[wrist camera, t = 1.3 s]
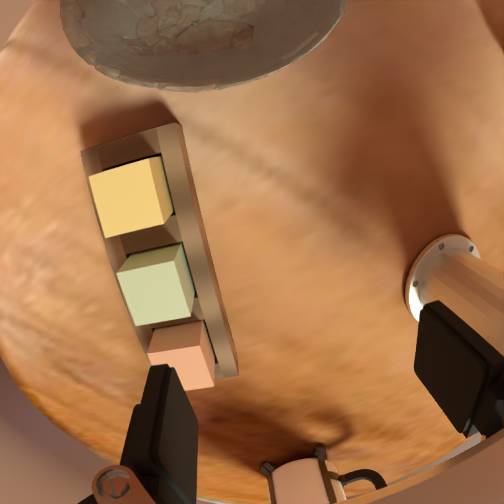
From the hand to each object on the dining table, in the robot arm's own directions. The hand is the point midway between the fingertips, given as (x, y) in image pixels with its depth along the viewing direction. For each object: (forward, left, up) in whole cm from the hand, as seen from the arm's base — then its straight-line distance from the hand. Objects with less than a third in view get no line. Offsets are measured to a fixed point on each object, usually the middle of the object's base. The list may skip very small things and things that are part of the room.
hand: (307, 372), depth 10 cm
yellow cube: (+8, +7, -20) cm, 23 cm away
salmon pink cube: (-8, +12, -20) cm, 25 cm away
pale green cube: (0, +10, -20) cm, 22 cm away
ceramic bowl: (+22, -6, -24) cm, 33 cm away
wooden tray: (0, +10, -23) cm, 25 cm away
